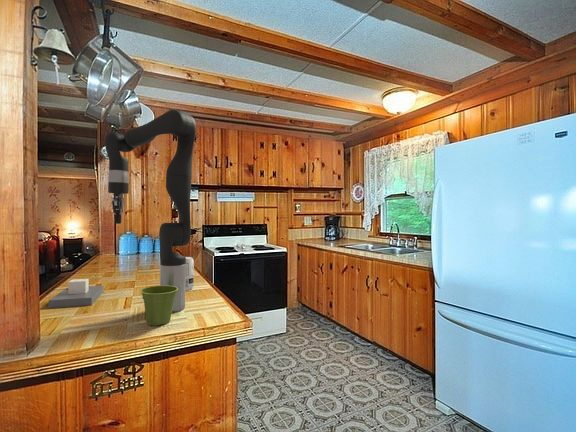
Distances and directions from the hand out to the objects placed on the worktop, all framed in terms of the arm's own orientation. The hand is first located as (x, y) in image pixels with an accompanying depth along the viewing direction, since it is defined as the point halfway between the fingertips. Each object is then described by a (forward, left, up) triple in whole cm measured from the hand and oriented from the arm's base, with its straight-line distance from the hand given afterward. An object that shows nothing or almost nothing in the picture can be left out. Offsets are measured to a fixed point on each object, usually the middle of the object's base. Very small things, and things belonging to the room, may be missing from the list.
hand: (118, 223), depth 126 cm
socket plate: (+5, +15, -32) cm, 36 cm away
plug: (+5, +15, -31) cm, 35 cm away
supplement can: (+12, -27, -32) cm, 44 cm away
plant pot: (-32, -18, -32) cm, 49 cm away
